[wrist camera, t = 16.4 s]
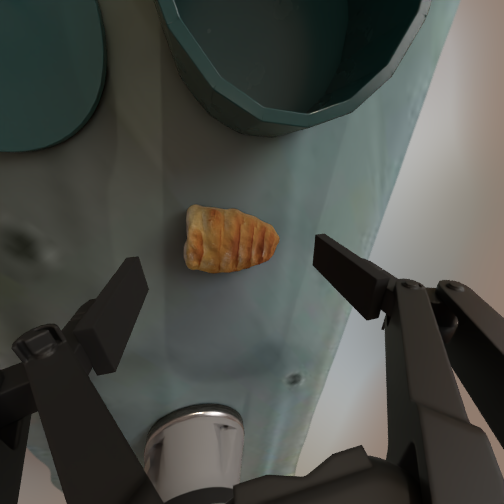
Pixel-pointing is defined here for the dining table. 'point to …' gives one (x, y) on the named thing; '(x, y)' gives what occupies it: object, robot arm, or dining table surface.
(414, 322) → the robot arm
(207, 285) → the dining table surface
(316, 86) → the pot
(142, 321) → the dining table surface
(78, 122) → the lid
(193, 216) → the pastry
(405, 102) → the dining table surface
